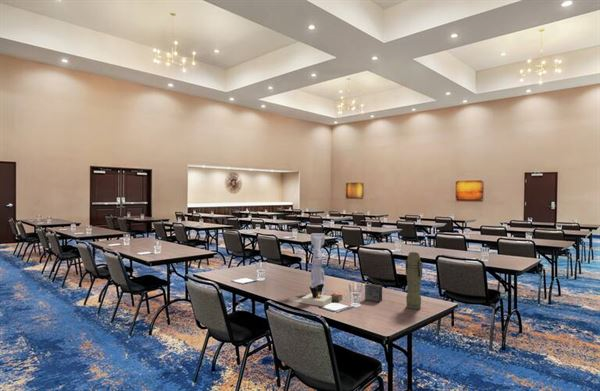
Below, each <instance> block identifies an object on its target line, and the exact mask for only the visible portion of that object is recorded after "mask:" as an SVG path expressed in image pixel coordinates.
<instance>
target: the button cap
mask: <svg viewBox="0 0 600 391" xmlns="http://www.w3.org/2000/svg"><path fill="white" fill-rule="evenodd" d="M332 294H333V296H334V297H339V295H340V294H339V293H338V292H332Z"/></svg>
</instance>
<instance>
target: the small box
mask: <svg viewBox="0 0 600 391" xmlns="http://www.w3.org/2000/svg"><path fill="white" fill-rule="evenodd" d="M364 301H369V302H373V303H381V302H382V301H383V285H381V284H375V283H367V284H365V285H364Z"/></svg>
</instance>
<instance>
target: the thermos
mask: <svg viewBox="0 0 600 391" xmlns="http://www.w3.org/2000/svg"><path fill="white" fill-rule="evenodd" d="M405 275H406V280H407V281H406V282H407V284H406V285H407V288H406V289H407V291H406V292H407V293H406V301H405V302H406V308H407V309H409V310H420V309H421V308H422V306H421V305H422V296H421V281H422V278H423V262H422V261H421V255H420V254H419V252H415V251H414V252H413V251H411V252H409V253H408V255H407V259H406V260H405Z"/></svg>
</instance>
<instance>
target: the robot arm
mask: <svg viewBox="0 0 600 391" xmlns="http://www.w3.org/2000/svg"><path fill="white" fill-rule="evenodd" d="M325 240H326V238H325V233H324V232H323V233H317V232H316V233H315V232H314V233H313V232H312V233H311V234H310V242H311V245H312V246H314V250H313V251H312V260H311V264H312V265H311V266H312V269H311V272H310V281H311V282H310V283H311V284H310V286H309V289H310V292H311V293H312V296H313V298H316V296H317V291H320V295H326V292H325V271H324V269H322V267H323V259H322V255H323V254H322V249H321V248H322V246H324V244H325Z"/></svg>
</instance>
